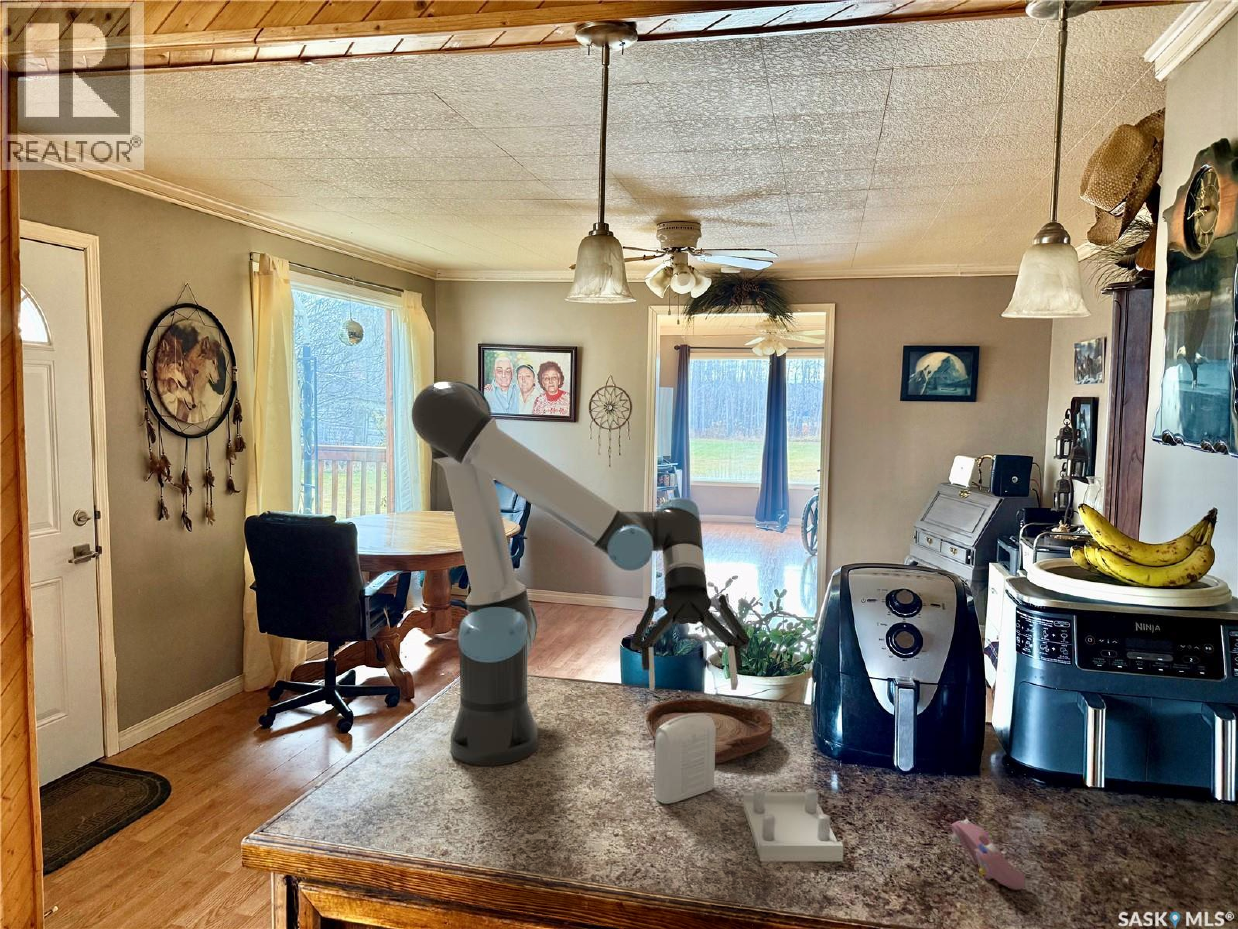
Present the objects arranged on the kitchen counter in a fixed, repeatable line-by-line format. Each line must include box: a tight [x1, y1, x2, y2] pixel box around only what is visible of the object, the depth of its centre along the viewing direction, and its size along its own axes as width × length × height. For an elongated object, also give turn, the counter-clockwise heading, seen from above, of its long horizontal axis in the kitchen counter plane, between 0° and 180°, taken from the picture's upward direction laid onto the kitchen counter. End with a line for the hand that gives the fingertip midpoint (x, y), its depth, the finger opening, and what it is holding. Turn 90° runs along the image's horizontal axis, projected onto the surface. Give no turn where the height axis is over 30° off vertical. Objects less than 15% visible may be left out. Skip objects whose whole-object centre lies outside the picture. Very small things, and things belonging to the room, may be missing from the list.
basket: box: [645, 698, 773, 764], centre depth 141 cm, size 22×20×5 cm
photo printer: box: [653, 713, 716, 804], centre depth 122 cm, size 10×4×12 cm, turn 123°
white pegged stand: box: [742, 788, 844, 862], centre depth 112 cm, size 14×11×4 cm
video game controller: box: [949, 818, 1026, 891], centre depth 103 cm, size 10×5×7 cm, turn 5°
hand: (693, 687), depth 129 cm, fingers open, 13 cm apart
